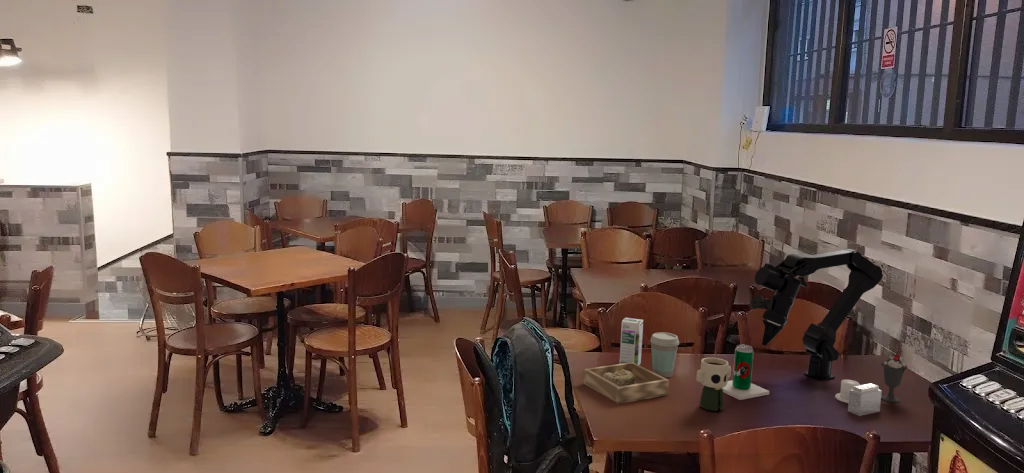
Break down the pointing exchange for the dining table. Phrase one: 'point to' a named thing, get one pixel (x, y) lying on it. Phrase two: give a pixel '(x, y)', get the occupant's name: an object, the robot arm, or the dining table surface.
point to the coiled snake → (621, 377)
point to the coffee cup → (664, 353)
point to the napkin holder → (864, 399)
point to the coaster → (744, 391)
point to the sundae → (893, 375)
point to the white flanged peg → (846, 390)
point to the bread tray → (643, 388)
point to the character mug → (713, 382)
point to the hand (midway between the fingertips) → (764, 344)
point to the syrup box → (631, 341)
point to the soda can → (743, 367)
